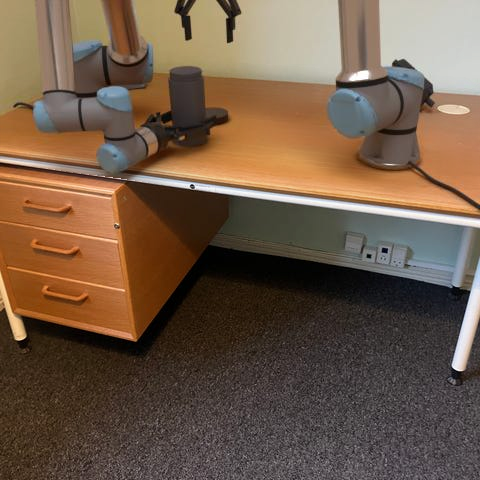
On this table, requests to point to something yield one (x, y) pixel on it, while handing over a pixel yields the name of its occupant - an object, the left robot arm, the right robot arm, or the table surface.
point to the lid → (217, 114)
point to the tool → (427, 85)
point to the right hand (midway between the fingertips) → (209, 41)
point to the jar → (187, 100)
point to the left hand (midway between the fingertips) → (195, 116)
